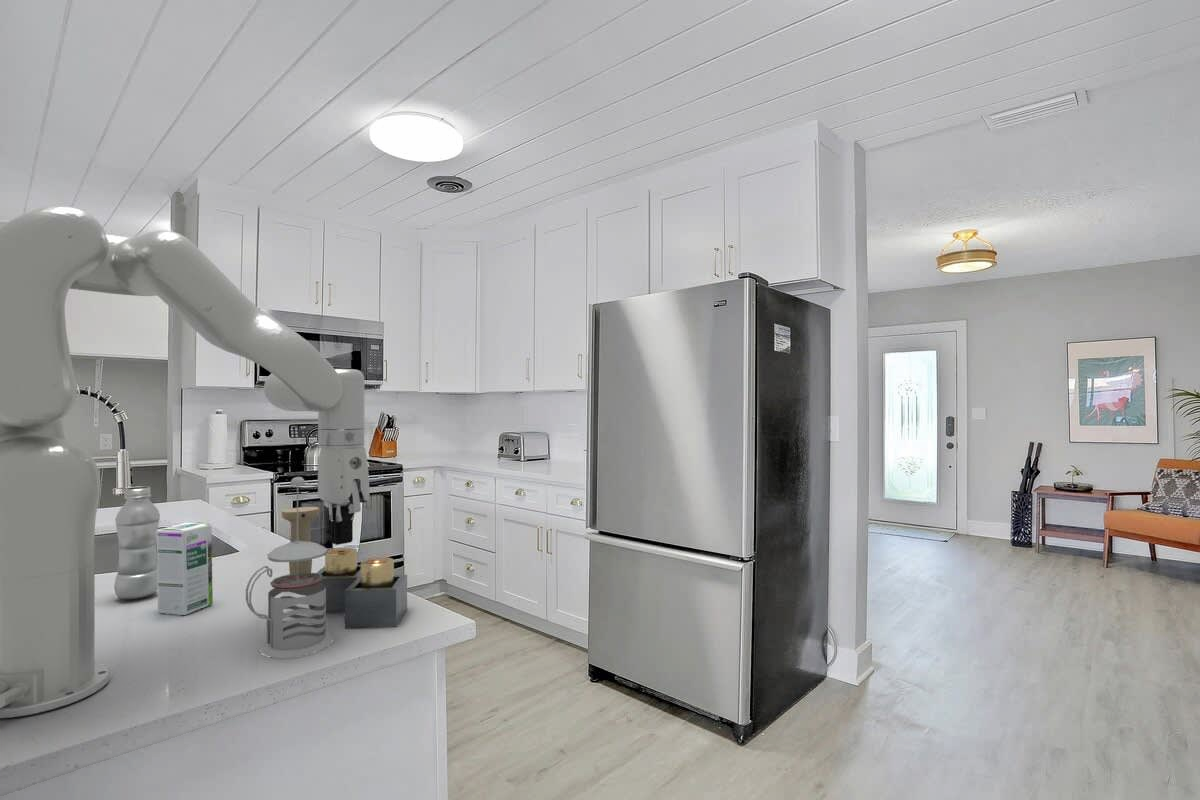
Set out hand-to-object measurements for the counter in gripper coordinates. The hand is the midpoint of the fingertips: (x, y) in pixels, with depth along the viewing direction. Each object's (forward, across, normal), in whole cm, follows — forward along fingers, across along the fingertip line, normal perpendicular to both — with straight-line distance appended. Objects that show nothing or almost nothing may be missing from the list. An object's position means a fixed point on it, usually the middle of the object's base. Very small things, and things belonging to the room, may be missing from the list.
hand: (341, 542), depth 108 cm
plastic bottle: (+11, +32, +22) cm, 40 cm away
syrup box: (+11, +18, +18) cm, 28 cm away
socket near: (+11, -11, -1) cm, 15 cm away
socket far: (+11, 0, 0) cm, 11 cm away
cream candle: (+7, 0, 0) cm, 7 cm away
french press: (+11, -11, +14) cm, 21 cm away
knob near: (+7, -11, -1) cm, 13 cm away
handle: (+11, +16, 0) cm, 19 cm away
